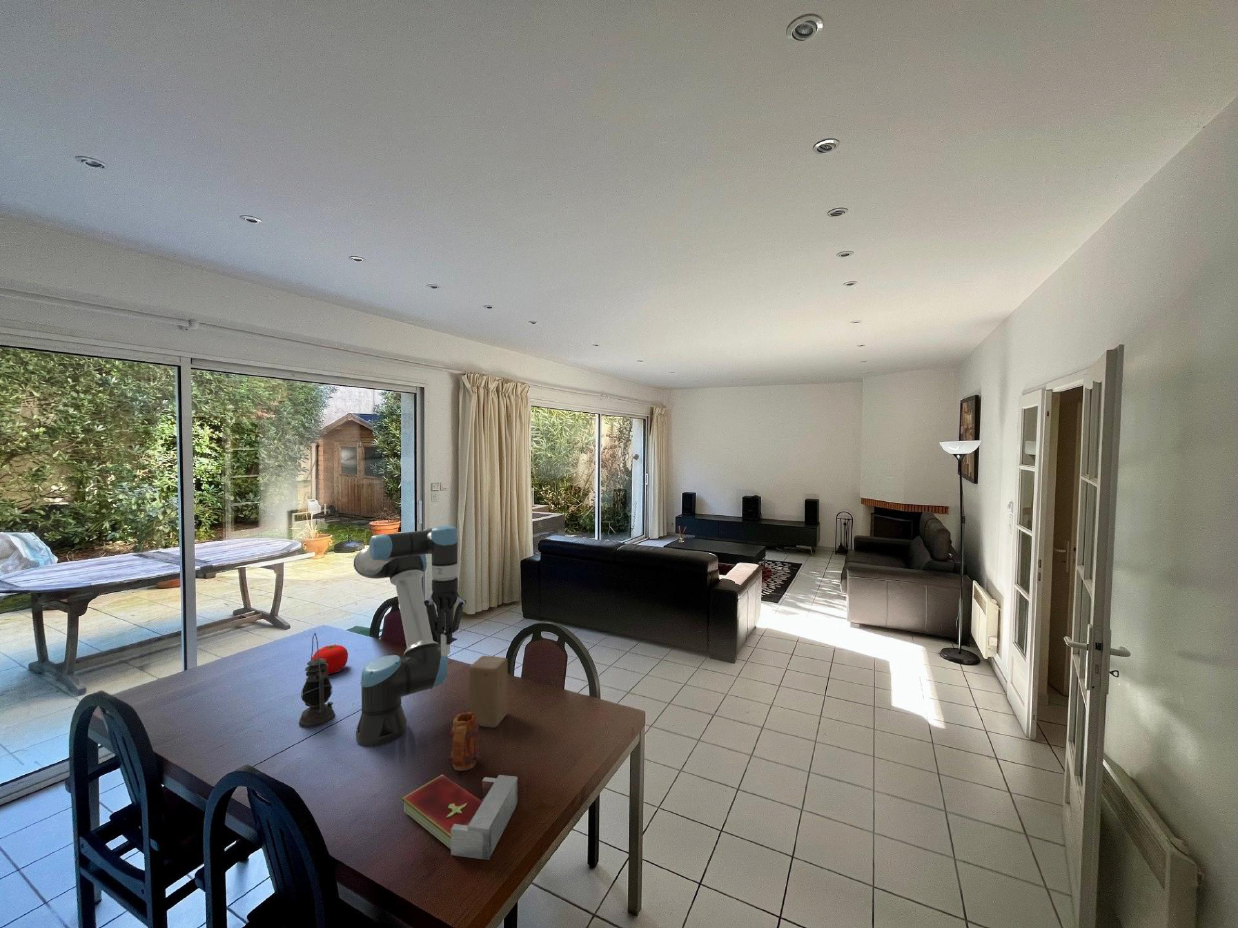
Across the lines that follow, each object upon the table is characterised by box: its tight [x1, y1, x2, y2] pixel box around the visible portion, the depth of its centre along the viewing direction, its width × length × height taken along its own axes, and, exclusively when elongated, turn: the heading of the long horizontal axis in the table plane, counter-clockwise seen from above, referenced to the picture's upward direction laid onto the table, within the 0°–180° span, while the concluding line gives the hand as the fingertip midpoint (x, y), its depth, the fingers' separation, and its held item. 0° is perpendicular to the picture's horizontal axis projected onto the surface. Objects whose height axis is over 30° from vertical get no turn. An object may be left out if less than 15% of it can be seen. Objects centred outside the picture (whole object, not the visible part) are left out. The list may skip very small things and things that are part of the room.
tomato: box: [312, 643, 349, 675], centre depth 205 cm, size 14×13×10 cm
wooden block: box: [468, 655, 509, 728], centre depth 168 cm, size 10×10×20 cm
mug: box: [448, 711, 482, 771], centre depth 141 cm, size 15×8×15 cm, turn 5°
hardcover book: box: [401, 774, 483, 850], centre depth 123 cm, size 12×21×4 cm, turn 53°
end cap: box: [450, 774, 519, 861], centre depth 120 cm, size 9×18×7 cm, turn 171°
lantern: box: [298, 632, 336, 729], centre depth 168 cm, size 12×11×30 cm
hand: (445, 654), depth 151 cm, fingers closed
